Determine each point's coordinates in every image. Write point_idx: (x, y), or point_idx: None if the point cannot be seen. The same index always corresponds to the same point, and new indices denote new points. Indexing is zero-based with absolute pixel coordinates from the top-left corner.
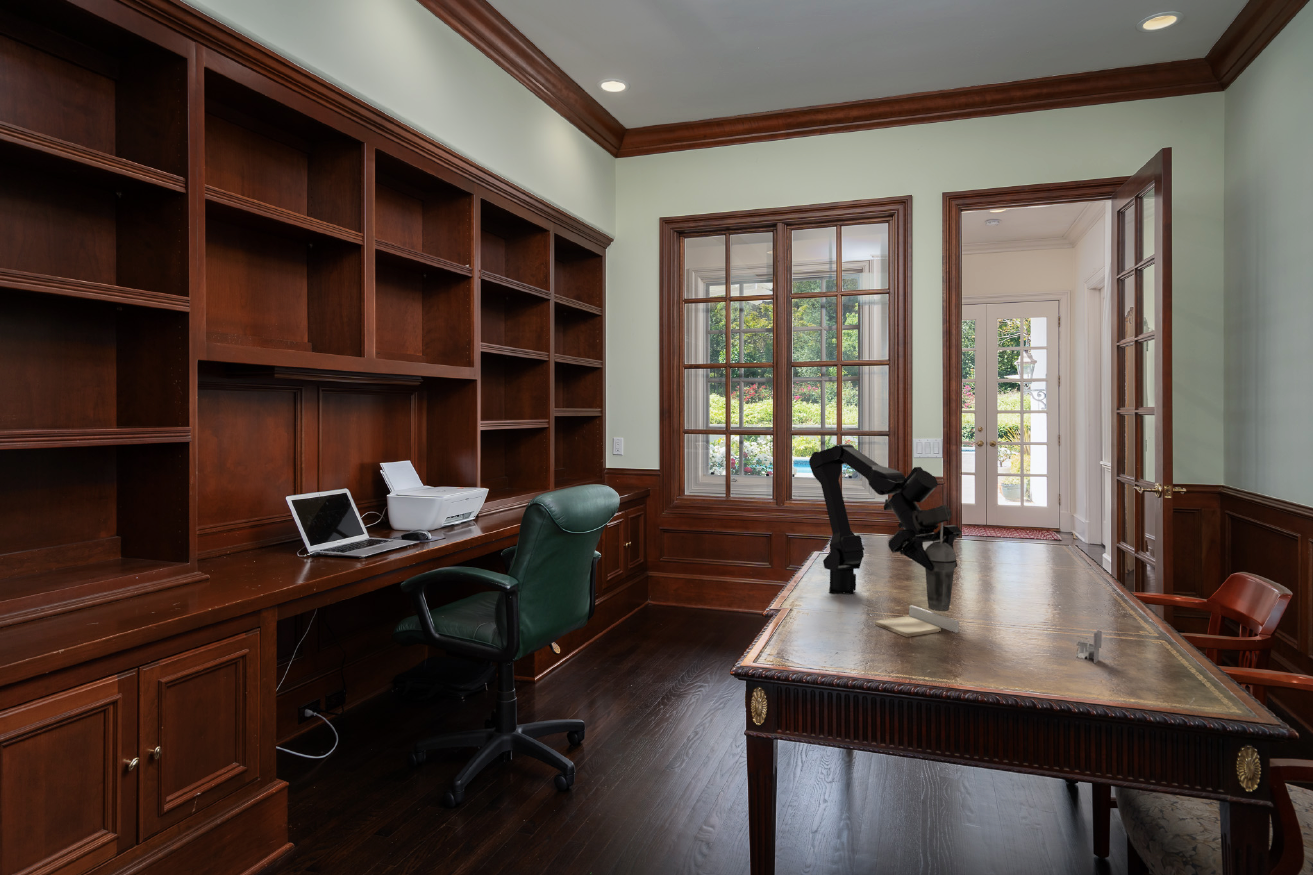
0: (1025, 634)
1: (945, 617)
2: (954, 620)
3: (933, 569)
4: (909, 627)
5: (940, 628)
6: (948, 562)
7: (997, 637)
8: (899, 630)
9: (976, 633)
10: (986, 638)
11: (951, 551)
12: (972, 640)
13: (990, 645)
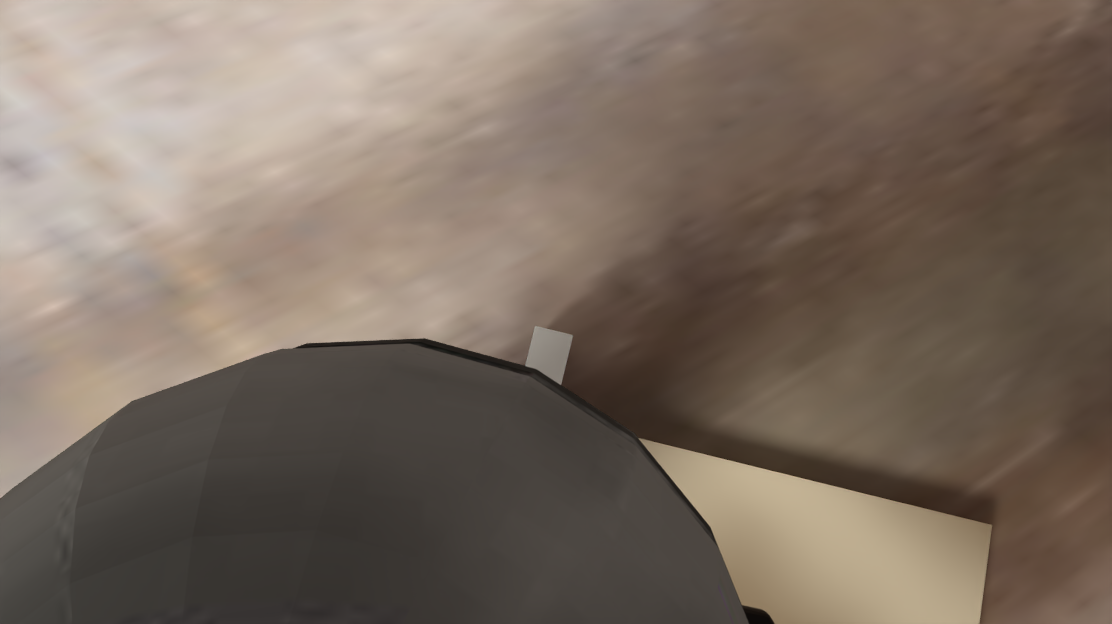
0: (193, 14)
1: None
2: (550, 358)
3: (751, 608)
4: (839, 607)
5: None
6: (560, 387)
7: (425, 105)
8: (980, 609)
9: (454, 241)
10: (512, 142)
11: (338, 389)
12: (637, 181)
13: (639, 57)
